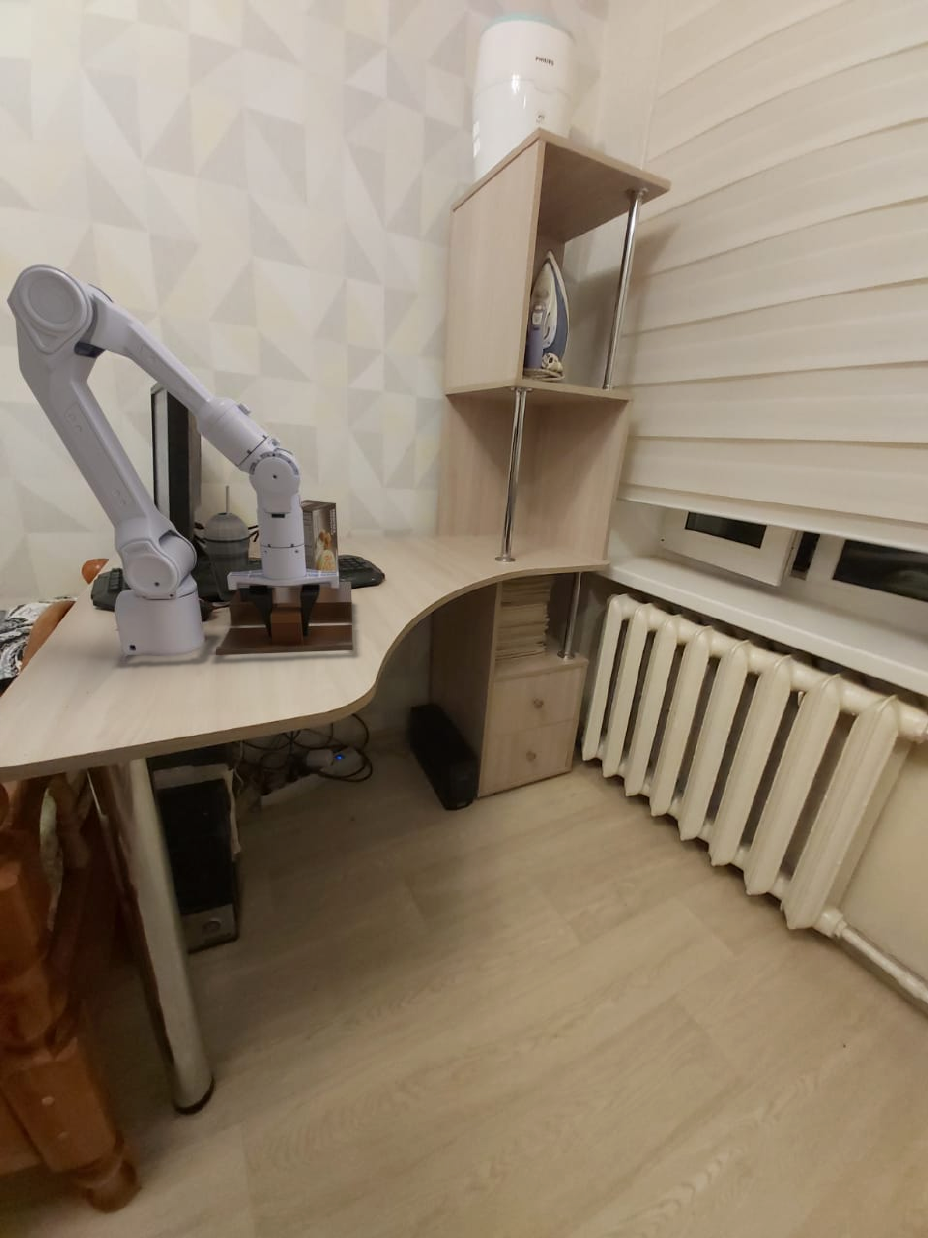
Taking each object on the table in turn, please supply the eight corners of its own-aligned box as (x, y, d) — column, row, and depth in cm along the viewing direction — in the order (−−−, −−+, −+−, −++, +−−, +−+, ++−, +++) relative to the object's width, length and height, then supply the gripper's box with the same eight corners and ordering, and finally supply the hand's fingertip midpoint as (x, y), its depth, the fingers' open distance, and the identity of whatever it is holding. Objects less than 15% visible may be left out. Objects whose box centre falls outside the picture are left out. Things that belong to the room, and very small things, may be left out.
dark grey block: (268, 600, 77) (265, 571, 75) (240, 601, 76) (237, 571, 74) (275, 584, 84) (272, 556, 82) (249, 584, 83) (246, 556, 81)
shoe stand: (217, 661, 67) (212, 631, 66) (244, 607, 85) (241, 582, 83) (353, 655, 71) (352, 627, 69) (351, 605, 89) (351, 581, 87)
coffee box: (310, 578, 101) (306, 498, 95) (340, 582, 100) (337, 502, 94) (286, 592, 93) (280, 506, 87) (318, 597, 92) (314, 510, 86)
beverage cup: (229, 592, 91) (215, 480, 84) (265, 597, 90) (254, 484, 82) (202, 605, 85) (184, 485, 77) (241, 611, 83) (226, 489, 76)
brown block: (302, 646, 71) (300, 615, 69) (272, 647, 70) (269, 615, 68) (306, 624, 78) (304, 595, 76) (279, 624, 77) (276, 595, 75)
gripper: (337, 536, 73) (340, 621, 78) (230, 535, 69) (241, 624, 75) (336, 549, 66) (340, 641, 71) (219, 548, 63) (231, 644, 68)
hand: (289, 634), depth 73 cm, fingers closed on brown block, 4 cm apart
